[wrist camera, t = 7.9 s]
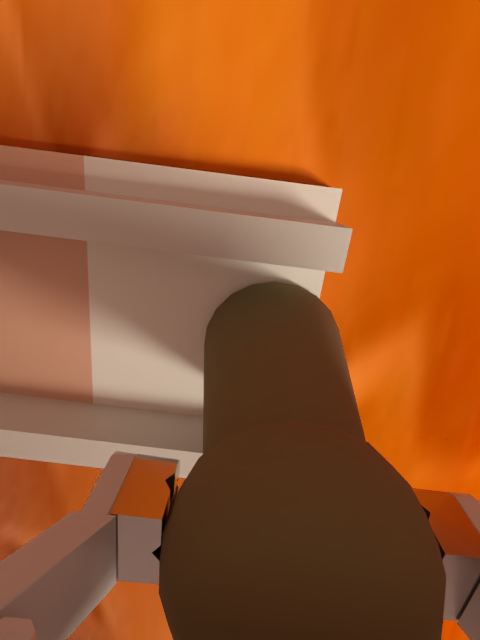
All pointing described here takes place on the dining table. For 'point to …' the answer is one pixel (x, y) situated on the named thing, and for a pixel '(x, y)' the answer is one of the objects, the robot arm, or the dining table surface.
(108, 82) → the dining table surface
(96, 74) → the dining table surface
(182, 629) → the cork
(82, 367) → the white tray
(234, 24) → the dining table surface
